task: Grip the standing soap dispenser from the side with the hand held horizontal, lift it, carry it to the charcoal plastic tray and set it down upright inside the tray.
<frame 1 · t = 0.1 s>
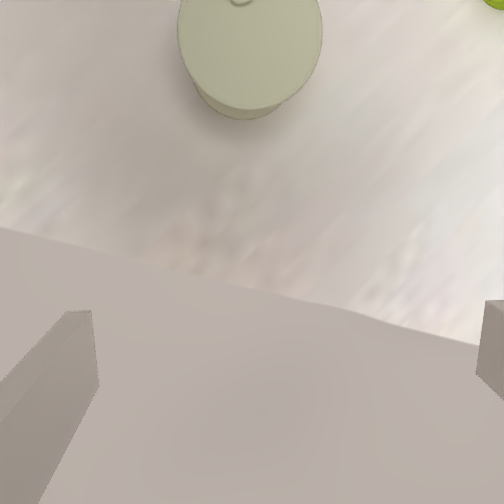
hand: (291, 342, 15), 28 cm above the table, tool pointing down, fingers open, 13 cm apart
can: (243, 65, 39), on the table
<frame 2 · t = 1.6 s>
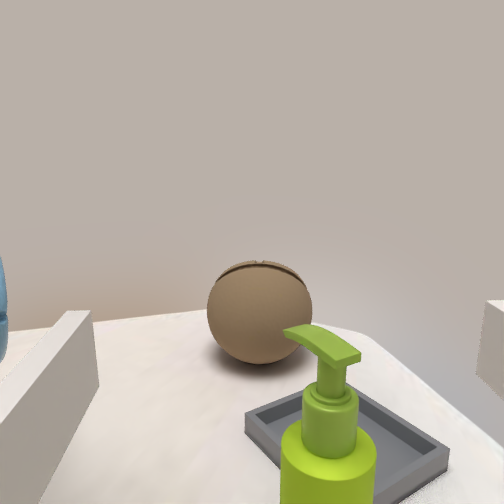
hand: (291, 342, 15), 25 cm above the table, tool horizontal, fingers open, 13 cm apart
tray: (339, 450, 46), on the table
tan ball: (259, 358, 65), on the table
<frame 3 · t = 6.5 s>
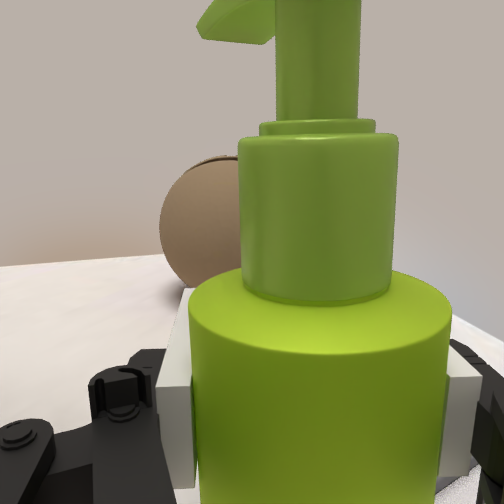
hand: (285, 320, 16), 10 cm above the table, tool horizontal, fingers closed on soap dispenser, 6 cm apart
tan ball: (233, 298, 48), on the table
when the fingers open (12 cm above the table, at t = 10.1 s): soap dispenser drops 2 cm, resting on tray.
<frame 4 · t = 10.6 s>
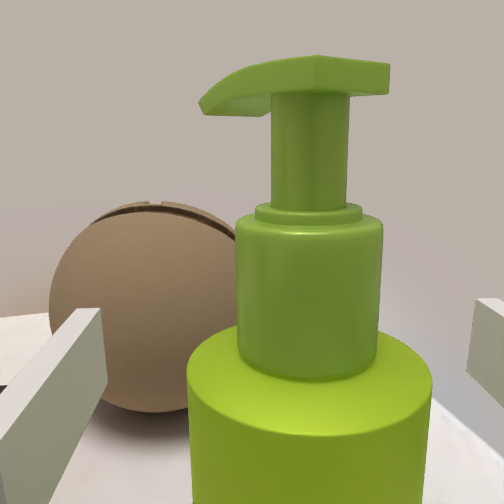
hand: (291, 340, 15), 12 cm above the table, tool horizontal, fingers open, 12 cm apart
tan ball: (168, 396, 34), on the table
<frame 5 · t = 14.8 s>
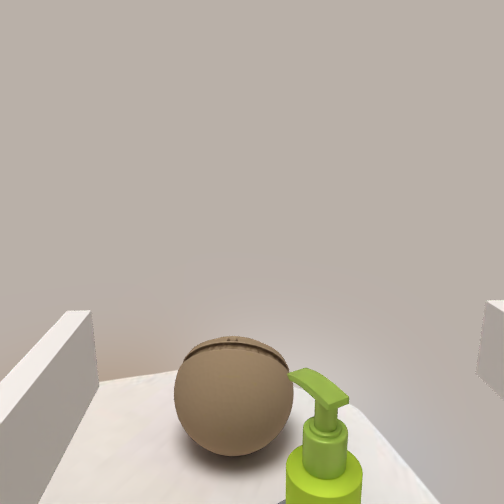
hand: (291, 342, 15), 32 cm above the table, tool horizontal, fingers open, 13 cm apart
tan ball: (234, 443, 57), on the table
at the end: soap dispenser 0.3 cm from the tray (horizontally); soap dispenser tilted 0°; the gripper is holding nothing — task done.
